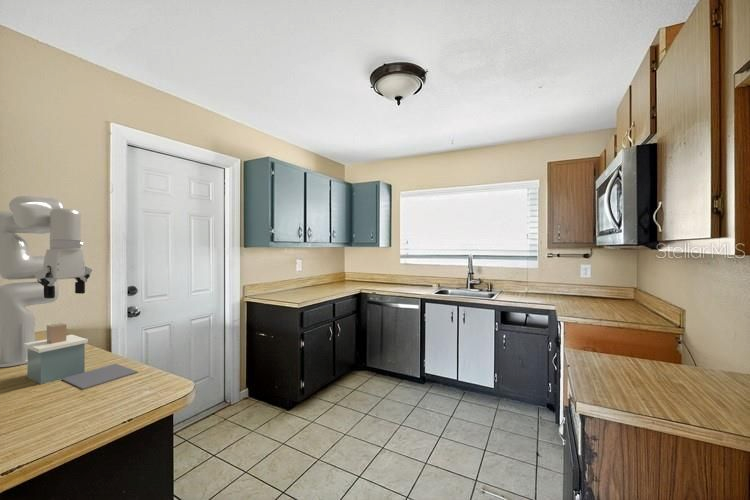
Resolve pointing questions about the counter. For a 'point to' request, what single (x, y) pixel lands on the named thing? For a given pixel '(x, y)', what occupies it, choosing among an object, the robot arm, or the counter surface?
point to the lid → (55, 339)
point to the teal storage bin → (56, 363)
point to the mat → (99, 376)
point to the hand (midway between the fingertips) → (65, 295)
